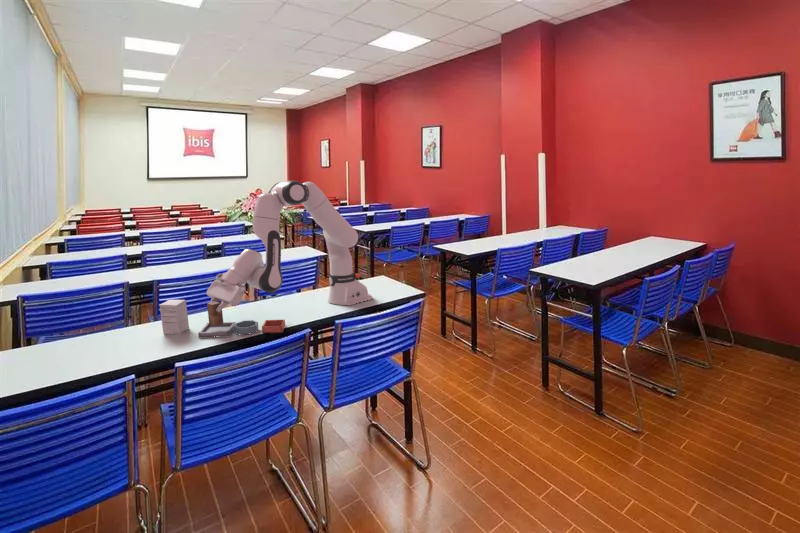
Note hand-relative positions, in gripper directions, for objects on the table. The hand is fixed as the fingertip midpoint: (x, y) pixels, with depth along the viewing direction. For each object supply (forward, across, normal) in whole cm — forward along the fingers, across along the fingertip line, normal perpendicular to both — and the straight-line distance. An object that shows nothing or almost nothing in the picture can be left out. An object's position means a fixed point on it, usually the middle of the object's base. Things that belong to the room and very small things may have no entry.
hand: (213, 309), depth 185 cm
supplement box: (+14, +14, 0) cm, 20 cm away
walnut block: (+4, 0, -5) cm, 6 cm away
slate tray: (+6, 0, -8) cm, 10 cm away
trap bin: (-5, -16, -19) cm, 25 cm away
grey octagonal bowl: (0, -8, -13) cm, 16 cm away
